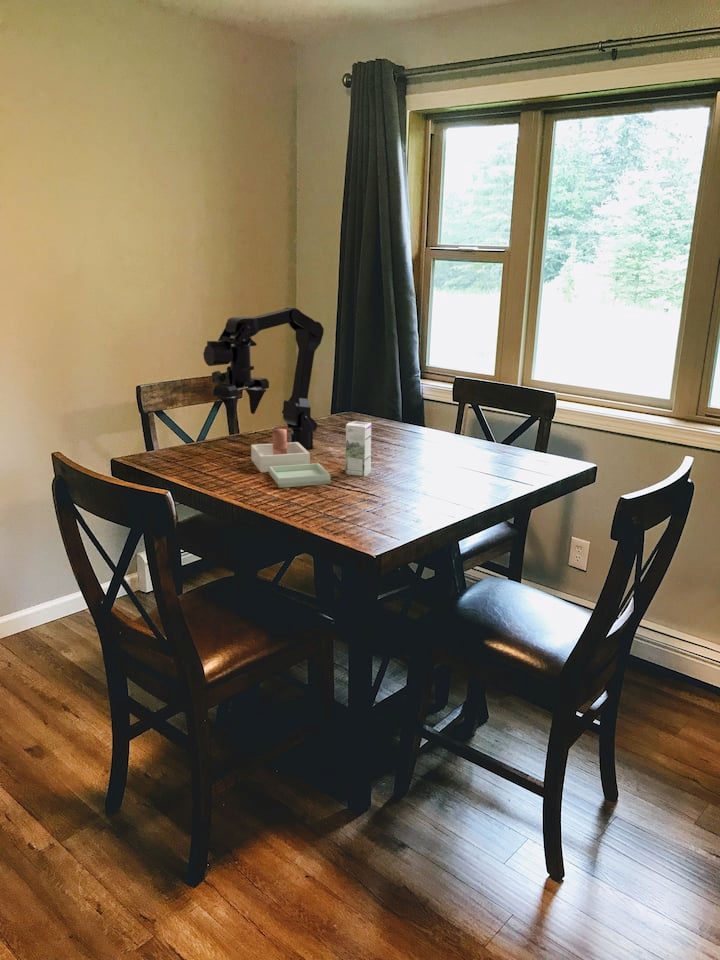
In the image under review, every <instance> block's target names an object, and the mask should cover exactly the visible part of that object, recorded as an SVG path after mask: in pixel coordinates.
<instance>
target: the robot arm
mask: <svg viewBox="0 0 720 960" xmlns="http://www.w3.org/2000/svg"><path fill="white" fill-rule="evenodd" d="M285 324H288V325H289V327H290V329H292V331H294V332H295V342H296V345H297V349H298V352H297V357H296V358H297V359H296V364H295V365H296V366H295V371H294V379H293V385H292V391H291V396H290V398H289V399H288V400H283V403H282V404H283V407H282V408H283V409H282V411H281V414H282V418H283V420H284V422H285V423H286V426H287V428H288V429H290V433H289V442H298V443H300V444H301V445H302V446H303V447H304V448H305V449H306V450H307V451H308V450H315V447H314V432H316V431H317V429H318V423H317V422H316V421H315V420H314V418H312V417H311V415H312V413H311V411H312V410H311V408H312V407H311V405H310V401H309V398H308V397H309V392H310V384H311V378H312V372H313V366H314V360H315V359H314V358H315V353H316V350H318V348H319V347H320V345H321V343H322V339H323V337H324V332H325V328H324V327H323V325H322V324H321V322H319V321H316V320H314V319H313V318H312V317H309V316H308V315H306V314H305V313H303V312H301V310H299V309H298V308H296V307H288V306H287V307H284V308H283V309H279V310H275V311H274V310H273V311H271V312H267V313H263V314H260V315H255V316H233V317H230V318H229V319H227V321H226V323H225V327H224V329H223V331H222V333H221V334H220V336H219V338H218V340H207V341H206V346H205V347H204V351H203V353H202V355H203V360H204V362H205V363H206V365H207V366H209V367H214V366H223V365H229V366H226V367H227V368H226V371H224V372H221V371H219V370H217V371H214V372H211V381H212V383H213V384H216V385H214V386H213V388H212V396H213V397H216V398H217V399H219V400H221V402H223V404H224V406H225V409H226V411H227V415H228V416H229V418H230V420H235V418H236V415H237V414H236V413H237V406H238V401H239V396H237V395H238V392H240V391H244V390H245V391H246V393H247V394H248V399H249V409H250V414H253V415H254V414H255V413H256V411H257V409H258V407H259V405H260V403H261V401H262V399H263V396H264V395H265V393H266V392H267V389H270V382H269V380H268V378H266V377H265V378H264V377H258V376H253V377H252V370H253V371H254V370H255V366H254V365H252V362H251V361H252V360H251V347H255V346H258V344H257V342H256V341H254V340H253V339H252V337H254V336H255V335H257V334H258V333H259V332H261V331H263V330H266V329H267V330H268V329H270V328H274V327H279V326H282V325H285Z"/></svg>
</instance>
